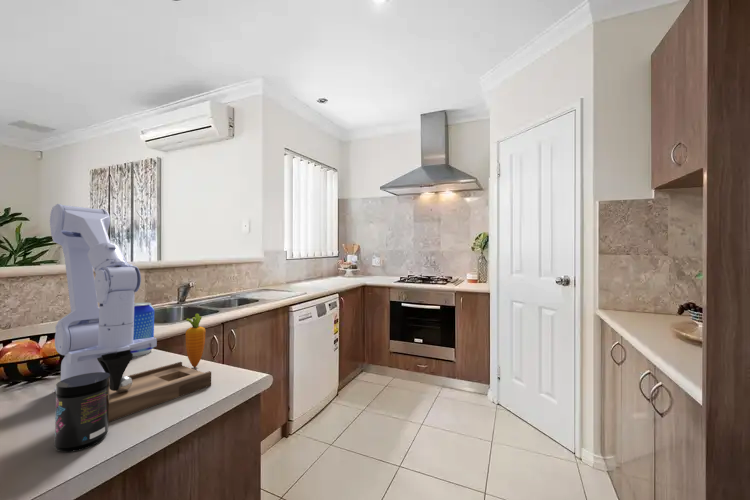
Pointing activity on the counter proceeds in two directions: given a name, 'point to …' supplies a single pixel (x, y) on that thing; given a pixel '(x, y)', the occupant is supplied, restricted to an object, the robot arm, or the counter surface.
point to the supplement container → (81, 411)
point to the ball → (125, 384)
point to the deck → (156, 388)
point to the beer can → (143, 325)
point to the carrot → (195, 340)
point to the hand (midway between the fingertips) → (114, 389)
